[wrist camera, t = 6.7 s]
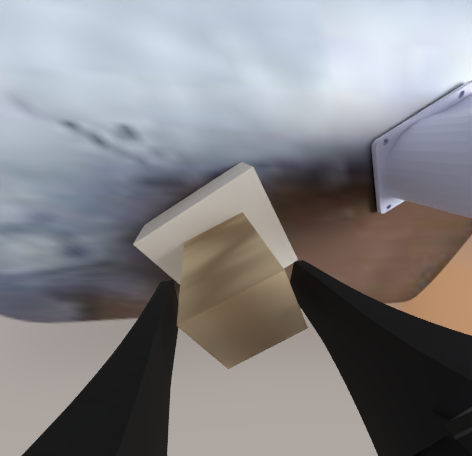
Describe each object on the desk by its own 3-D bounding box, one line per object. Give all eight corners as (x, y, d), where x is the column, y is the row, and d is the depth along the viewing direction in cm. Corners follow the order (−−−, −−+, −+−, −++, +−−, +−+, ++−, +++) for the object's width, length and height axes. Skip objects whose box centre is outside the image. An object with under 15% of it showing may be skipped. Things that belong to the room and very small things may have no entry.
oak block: (242, 212, 11) (284, 270, 6) (263, 257, 14) (307, 328, 8) (184, 242, 11) (176, 325, 6) (214, 282, 14) (228, 368, 8)
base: (240, 161, 13) (253, 166, 10) (282, 242, 17) (297, 259, 15) (144, 224, 13) (132, 244, 11) (208, 287, 18) (211, 312, 15)
